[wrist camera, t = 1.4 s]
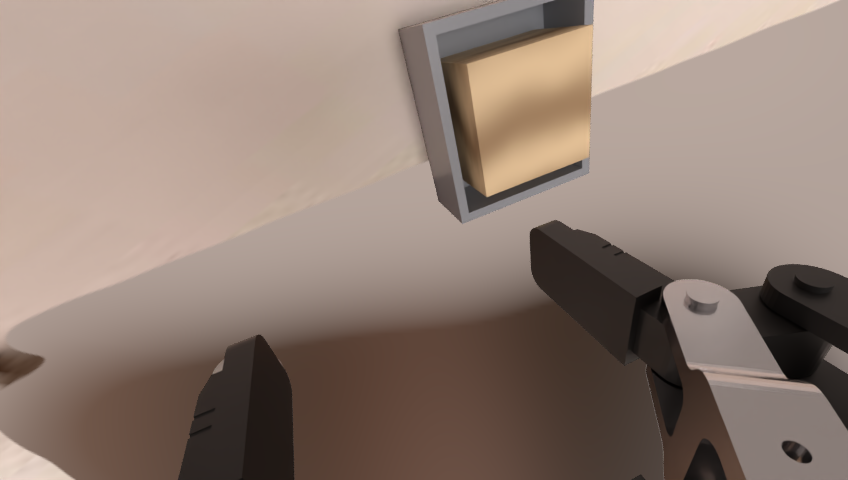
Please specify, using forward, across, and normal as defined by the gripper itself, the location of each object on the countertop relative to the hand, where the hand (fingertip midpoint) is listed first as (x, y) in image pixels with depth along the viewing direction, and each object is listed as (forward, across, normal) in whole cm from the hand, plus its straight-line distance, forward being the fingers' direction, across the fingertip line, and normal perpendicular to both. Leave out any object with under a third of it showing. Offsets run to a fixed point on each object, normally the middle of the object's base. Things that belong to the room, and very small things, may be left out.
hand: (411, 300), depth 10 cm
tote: (+24, -15, +1) cm, 28 cm away
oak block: (+23, -15, +1) cm, 27 cm away
